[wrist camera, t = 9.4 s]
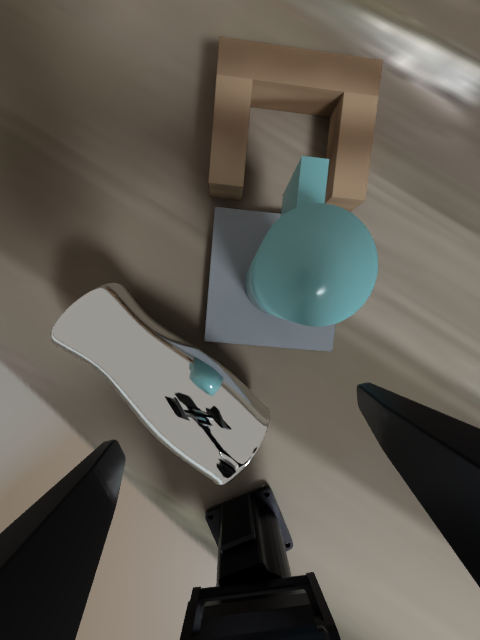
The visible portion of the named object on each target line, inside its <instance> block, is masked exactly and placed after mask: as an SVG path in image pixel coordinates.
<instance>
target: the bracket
mask: <svg viewBox="0 0 480 640" xmlns="http://www.w3.org/2000/svg"><path fill="white" fill-rule="evenodd" d="M382 63H383V60H378V59H371V58H364V57H357V56H350V55H343V54H336V53H329V52H322V51H315V50H308V49H301V48H294V47H287V46H280V45H273V44H266V43H259V42H252V41H245V40H239V39H232V38H225V37H220V38H219V51H218V64H217V77H216V90H215V103H214V116H213V129H212V142H211V155H210V168H209V181H208V183H209V189H210V194H211V197H216V198H225V199H235V200H242V193H243V184H244V173H245V161H246V150H247V138H248V127H249V116H250V107H256V108H264V109H272V110H279V111H287V112H295V113H303V114H310V115H318V116H326V117H330V124H329V133H328V142H327V151H326V159H329V167H328V176H327V185H326V193H325V202H324V203H325V204H331V205H335V206H338V207H341V208H343V209H345V210H347V211H349V212H350V211H352V210H353V209H354V208H356V207H357V206H359V205H360V204H361V203H363V202H364V201H365V200H366V191H367V183H368V175H369V167H370V159H371V151H372V143H373V135H374V127H375V119H376V111H377V103H378V95H379V87H380V79H381V71H382Z"/></svg>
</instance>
